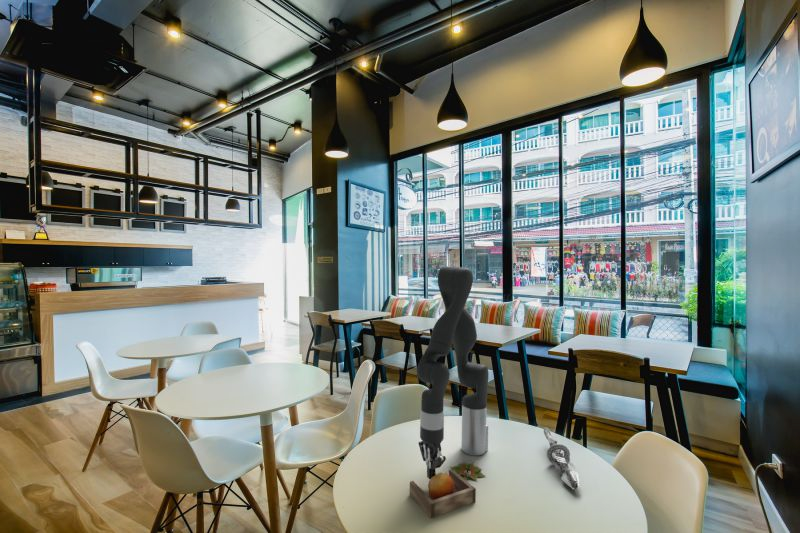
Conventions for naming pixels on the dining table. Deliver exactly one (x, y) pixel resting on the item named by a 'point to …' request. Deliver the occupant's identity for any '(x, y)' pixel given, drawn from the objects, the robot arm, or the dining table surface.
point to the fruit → (440, 486)
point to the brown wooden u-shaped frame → (445, 497)
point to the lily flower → (468, 467)
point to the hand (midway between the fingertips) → (431, 477)
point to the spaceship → (562, 461)
